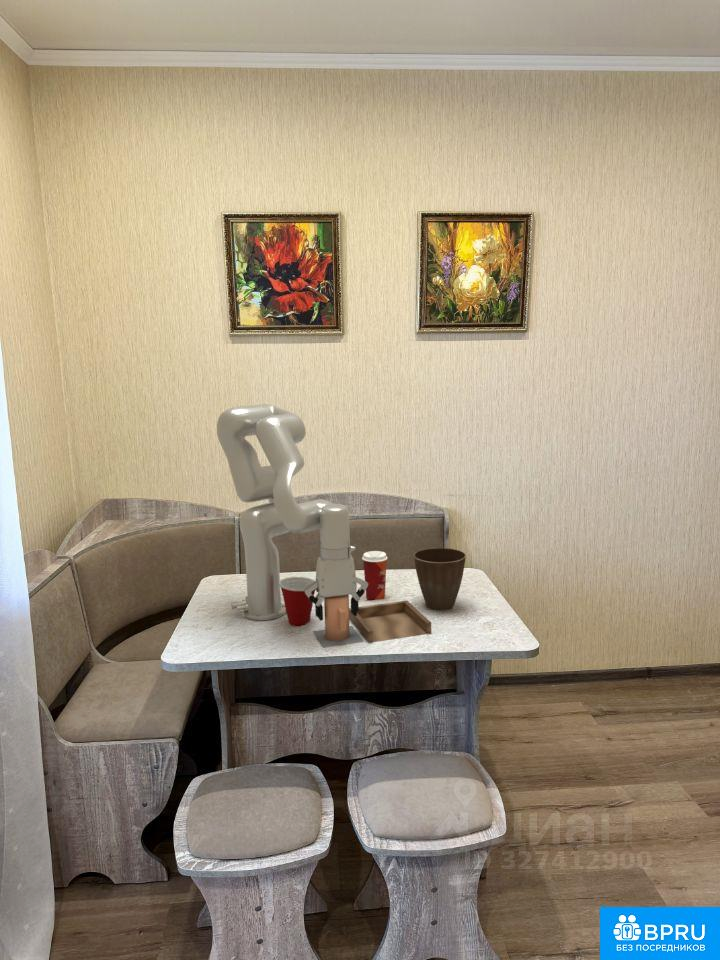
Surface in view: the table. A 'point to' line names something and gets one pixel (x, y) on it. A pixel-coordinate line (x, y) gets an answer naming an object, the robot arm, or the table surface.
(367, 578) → the paper cup
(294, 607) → the plastic cup
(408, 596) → the table surface
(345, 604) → the tan tapered cylinder
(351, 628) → the coaster
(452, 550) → the plant pot
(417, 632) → the brown tray
